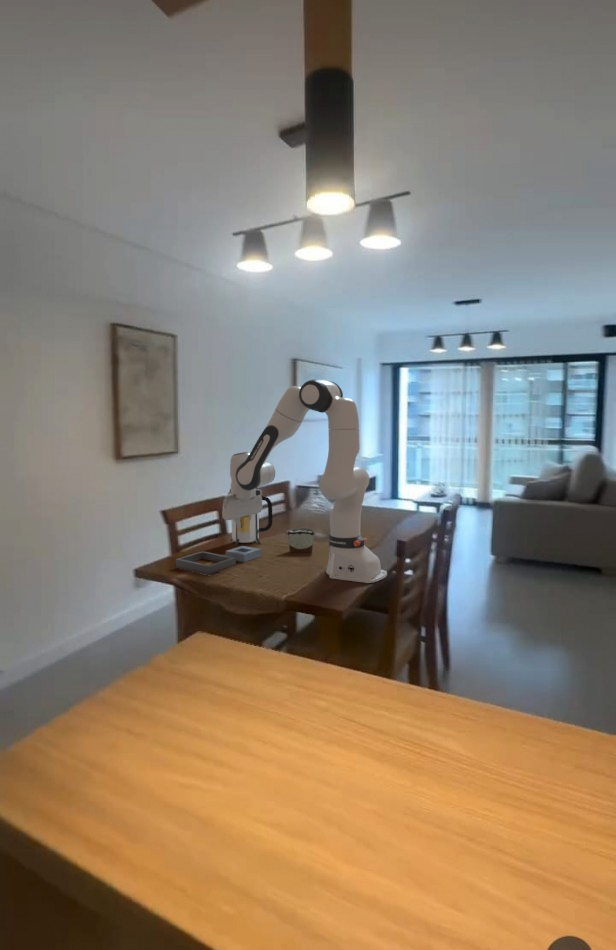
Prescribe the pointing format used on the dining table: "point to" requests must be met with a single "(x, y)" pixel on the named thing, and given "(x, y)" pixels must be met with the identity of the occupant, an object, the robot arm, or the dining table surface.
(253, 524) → the coffee press
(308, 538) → the food container
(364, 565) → the robot arm
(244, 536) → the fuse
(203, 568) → the parts tray
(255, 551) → the socket block
